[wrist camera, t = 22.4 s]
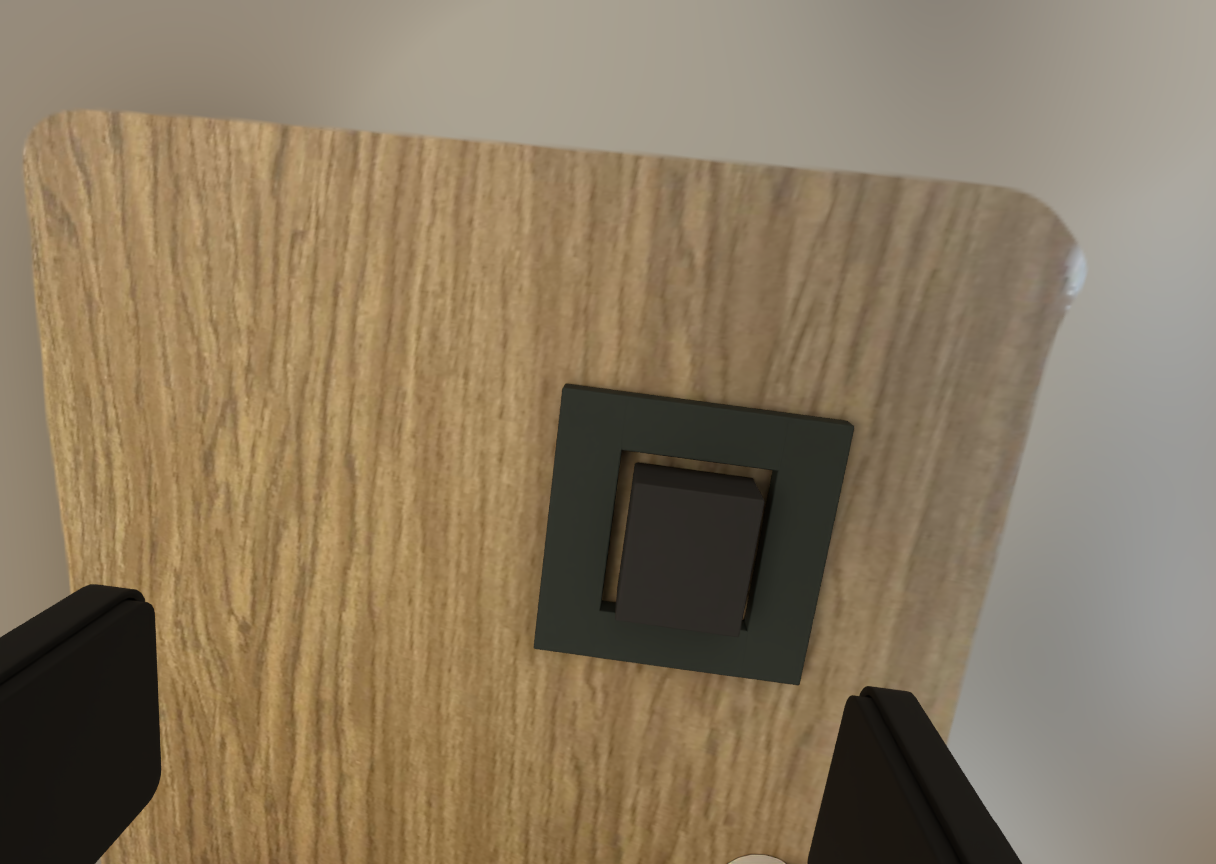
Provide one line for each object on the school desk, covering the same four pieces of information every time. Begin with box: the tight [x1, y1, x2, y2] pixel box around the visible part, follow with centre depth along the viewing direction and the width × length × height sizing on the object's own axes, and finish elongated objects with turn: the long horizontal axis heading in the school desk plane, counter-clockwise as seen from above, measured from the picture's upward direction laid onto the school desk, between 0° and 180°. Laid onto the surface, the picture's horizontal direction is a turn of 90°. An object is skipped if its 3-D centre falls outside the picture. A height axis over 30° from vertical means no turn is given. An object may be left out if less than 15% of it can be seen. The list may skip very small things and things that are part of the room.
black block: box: [615, 463, 765, 637], centre depth 34 cm, size 7×6×4 cm
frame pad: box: [534, 384, 854, 685], centre depth 35 cm, size 14×14×1 cm
